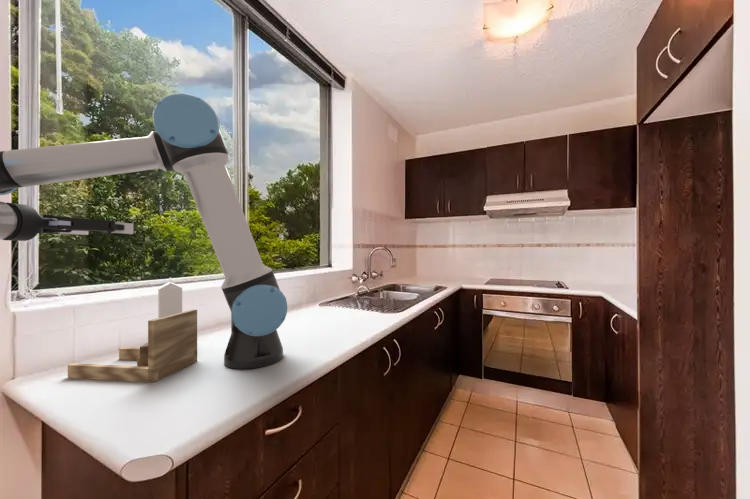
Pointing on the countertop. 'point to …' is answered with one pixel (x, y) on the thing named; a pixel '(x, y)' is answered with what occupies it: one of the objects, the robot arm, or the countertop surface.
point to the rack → (151, 352)
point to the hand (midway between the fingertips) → (109, 229)
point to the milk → (169, 299)
